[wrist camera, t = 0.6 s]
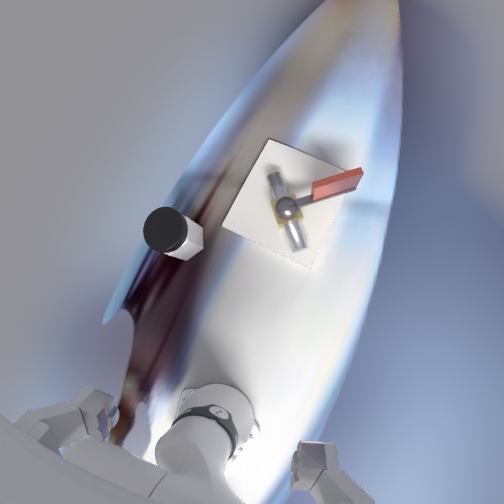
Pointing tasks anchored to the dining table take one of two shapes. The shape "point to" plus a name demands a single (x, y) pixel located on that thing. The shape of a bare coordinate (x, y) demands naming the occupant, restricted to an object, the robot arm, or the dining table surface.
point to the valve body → (291, 224)
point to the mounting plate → (297, 181)
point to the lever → (320, 192)
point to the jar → (173, 233)
